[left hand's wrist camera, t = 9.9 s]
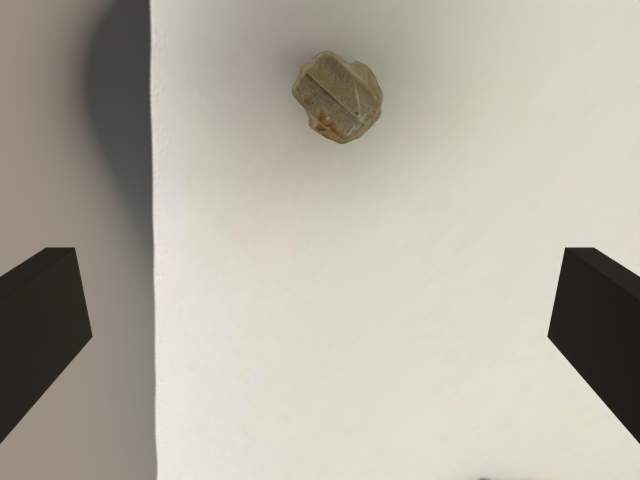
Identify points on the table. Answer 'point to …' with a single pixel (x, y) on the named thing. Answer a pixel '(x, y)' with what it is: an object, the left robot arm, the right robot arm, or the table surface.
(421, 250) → the table surface
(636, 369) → the left robot arm
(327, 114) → the sculpture
